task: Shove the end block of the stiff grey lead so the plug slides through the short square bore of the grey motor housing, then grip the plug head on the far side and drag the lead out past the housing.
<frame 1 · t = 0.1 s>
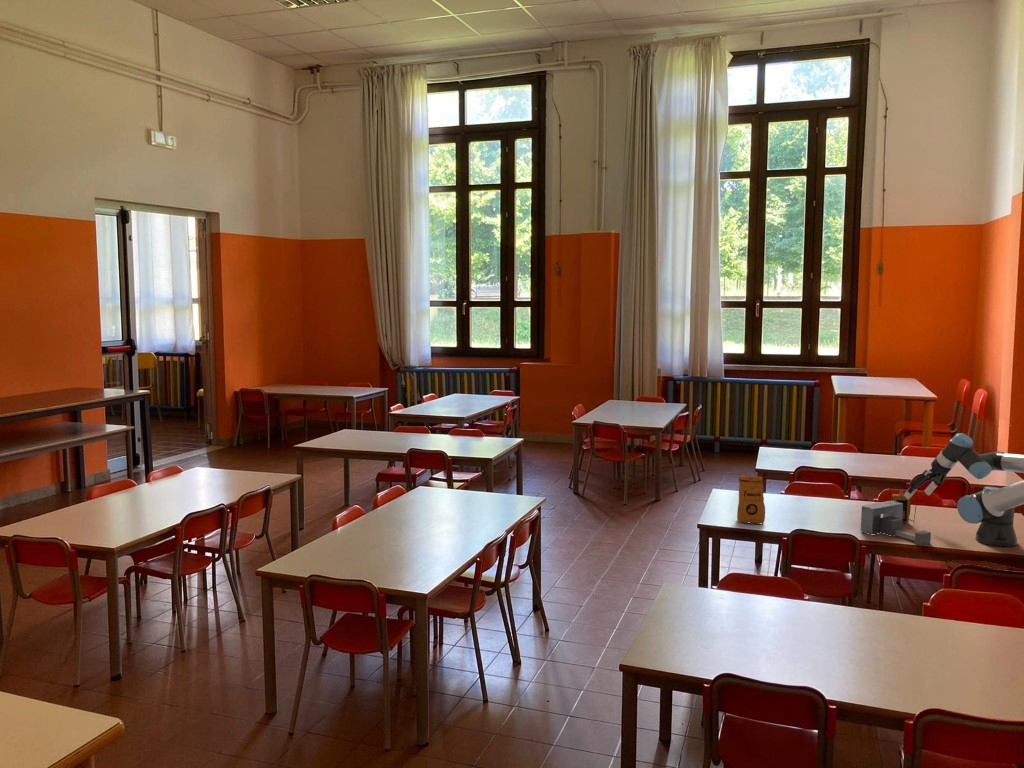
hand: (916, 495, 359), 15 cm above the table, tool tilted 35°, fingers open, 13 cm apart
plug: (890, 533, 353), on the table
housing: (881, 530, 358), on the table
multimeter: (896, 520, 374), on the table
coffee package: (750, 522, 373), on the table
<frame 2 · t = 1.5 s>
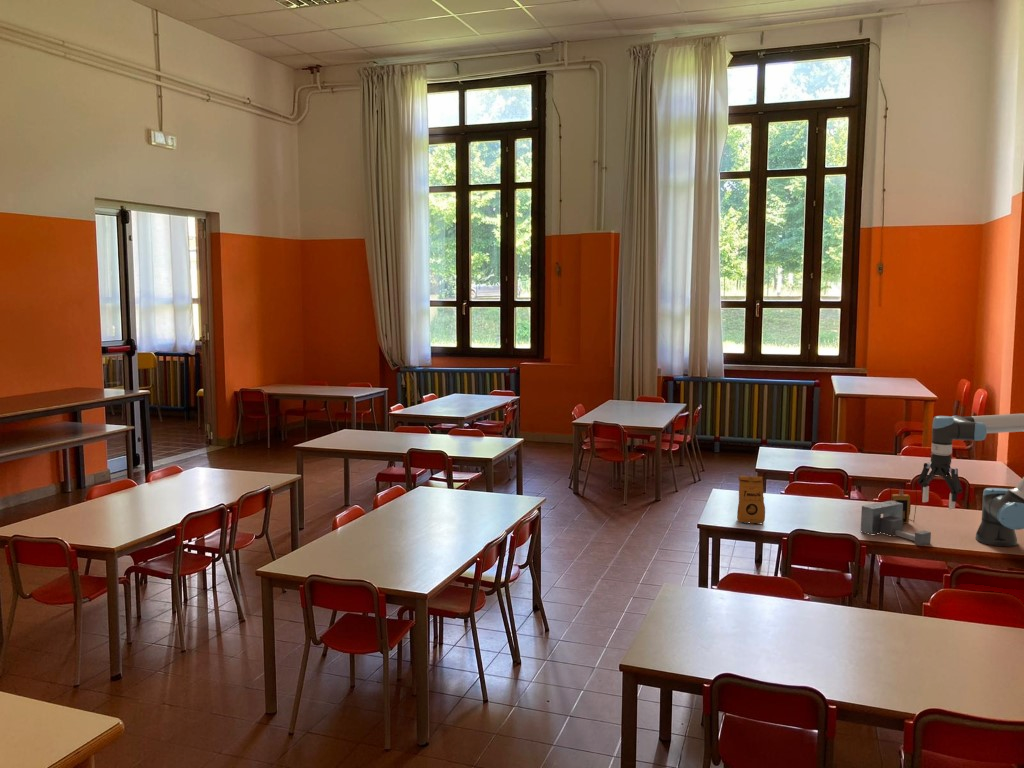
hand: (938, 505, 332), 18 cm above the table, tool pointing down, fingers open, 11 cm apart
nothing on the table moved.
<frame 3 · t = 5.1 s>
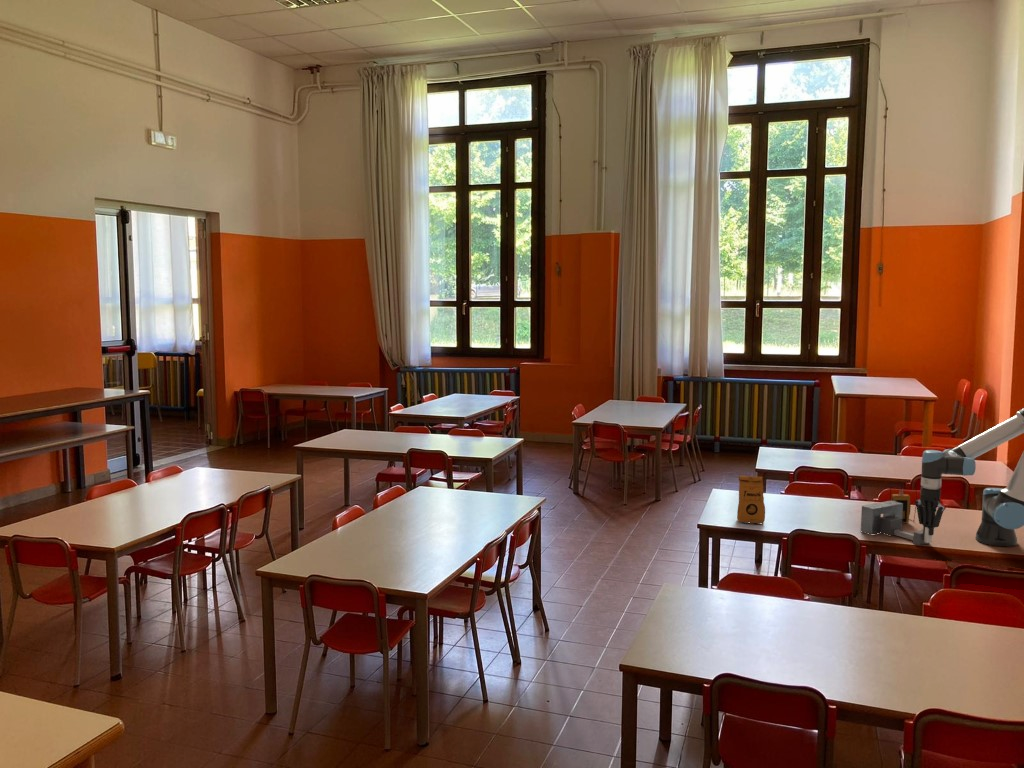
hand: (927, 542, 337), 1 cm above the table, tool pointing down, fingers closed
plug: (889, 533, 354), on the table, touching gripper
everything else where it was.
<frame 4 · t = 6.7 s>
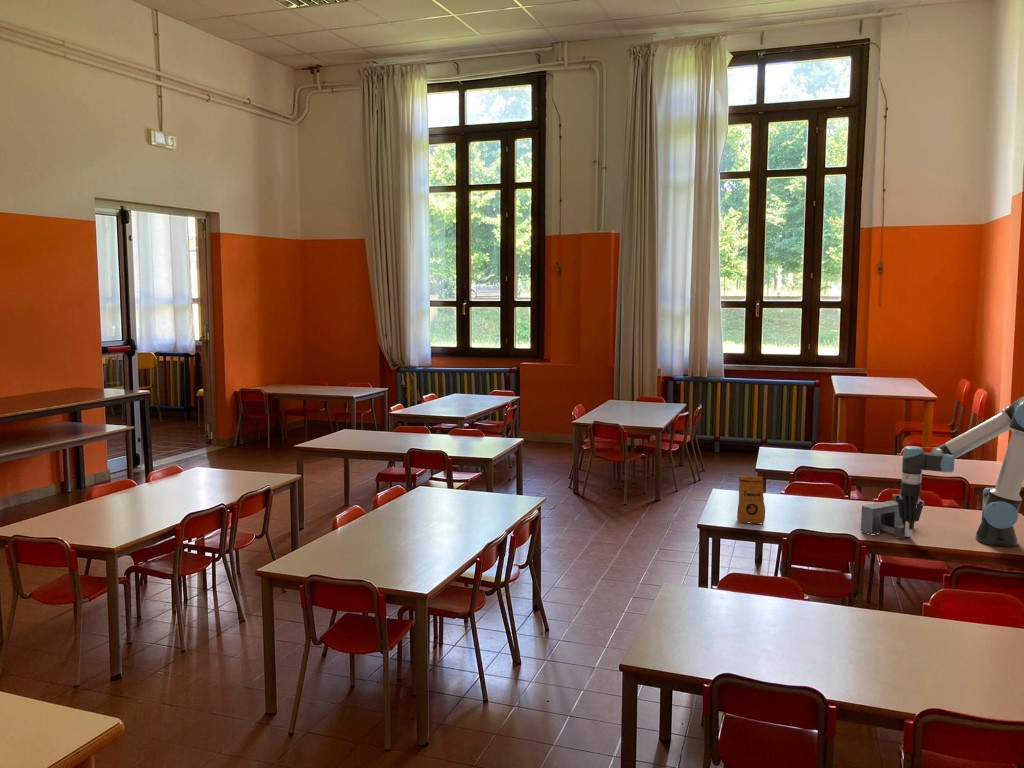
hand: (908, 535, 345), 2 cm above the table, tool pointing down, fingers closed
plug: (873, 527, 363), on the table, touching gripper
everything else where it was.
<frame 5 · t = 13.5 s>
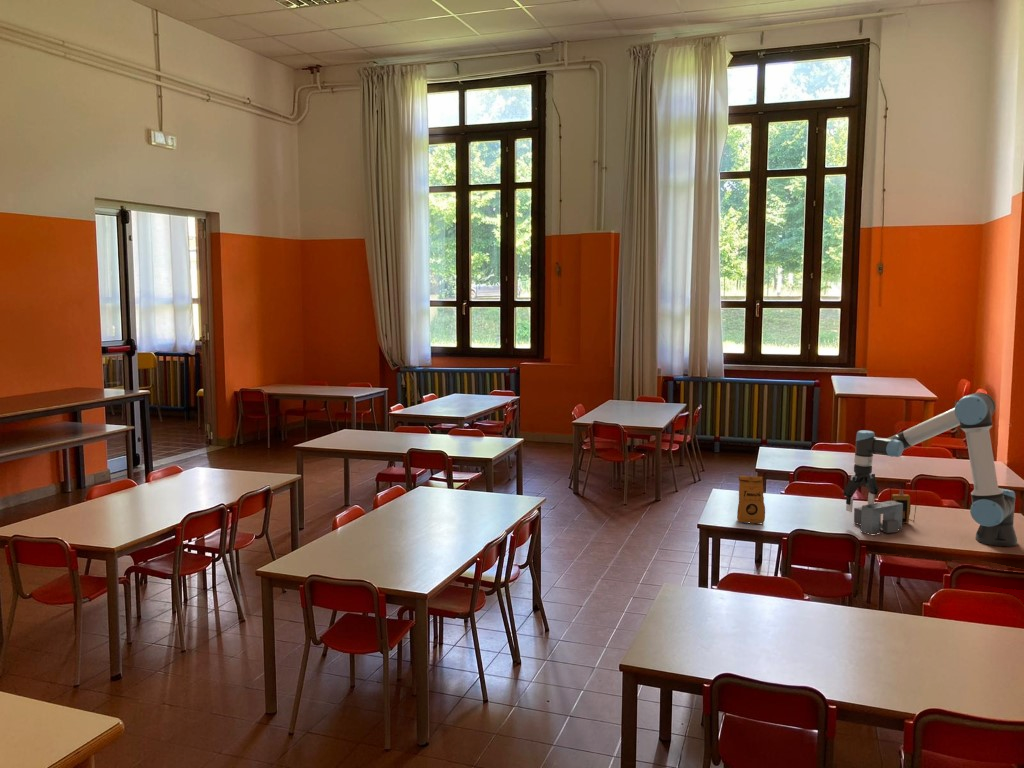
hand: (859, 509, 367), 7 cm above the table, tool pointing down, fingers open, 13 cm apart
plug: (864, 523, 369), on the table, touching gripper
everything else where it was.
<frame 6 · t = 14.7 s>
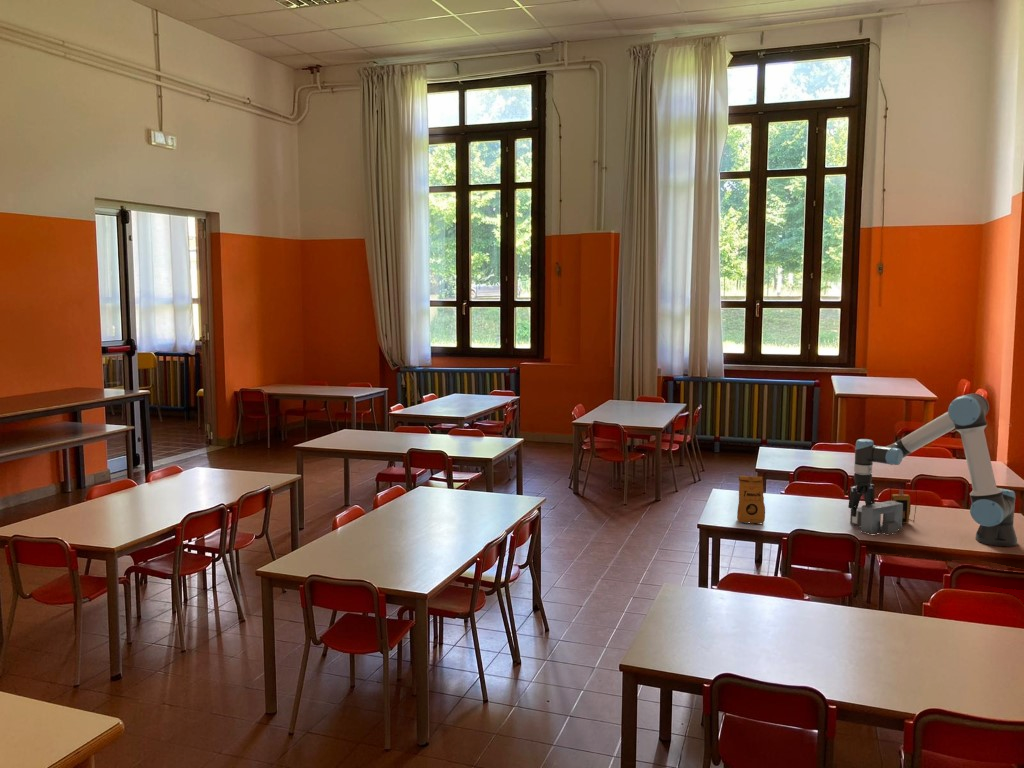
hand: (860, 521, 368), 1 cm above the table, tool pointing down, fingers closed on plug, 7 cm apart
plug: (860, 524, 368), on the table, touching gripper
everything else where it was.
when the fingers open (2 cm above the table, at t = 18.0 s): plug stays where it is, on the table.
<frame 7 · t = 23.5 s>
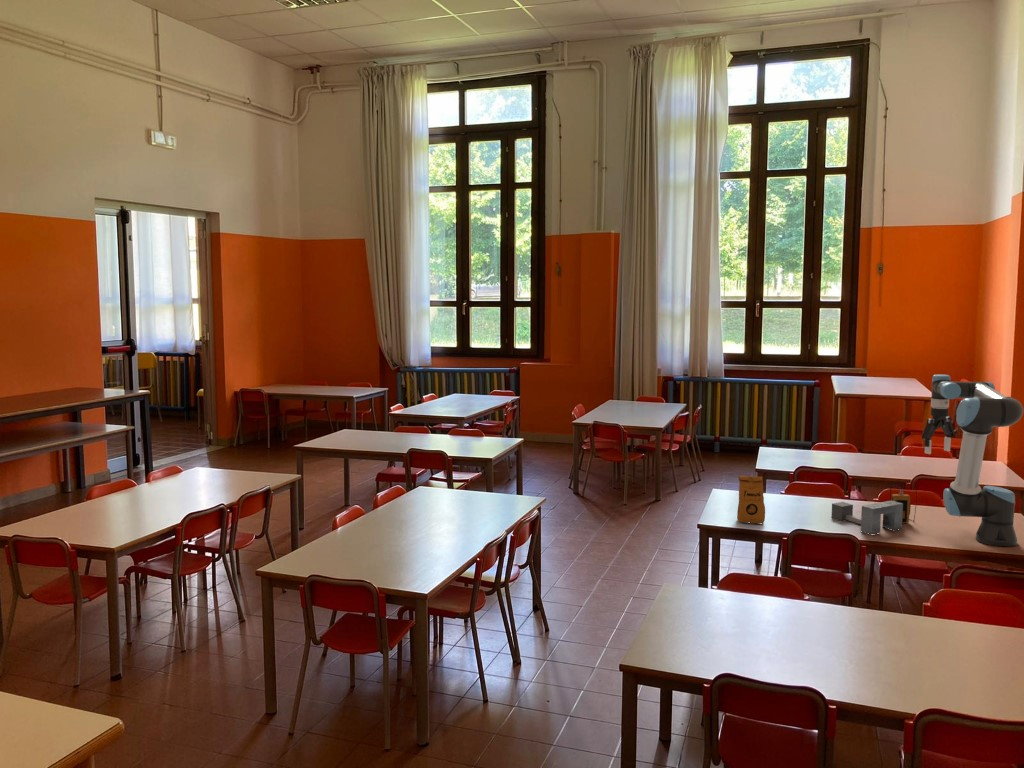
hand: (937, 452, 377), 31 cm above the table, tool pointing down, fingers open, 13 cm apart
plug: (841, 518, 377), on the table
everything else where it was.
at the end: plug inside the target area (1.1 cm from its centre), on the table; plug touching table; the gripper is holding nothing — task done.
